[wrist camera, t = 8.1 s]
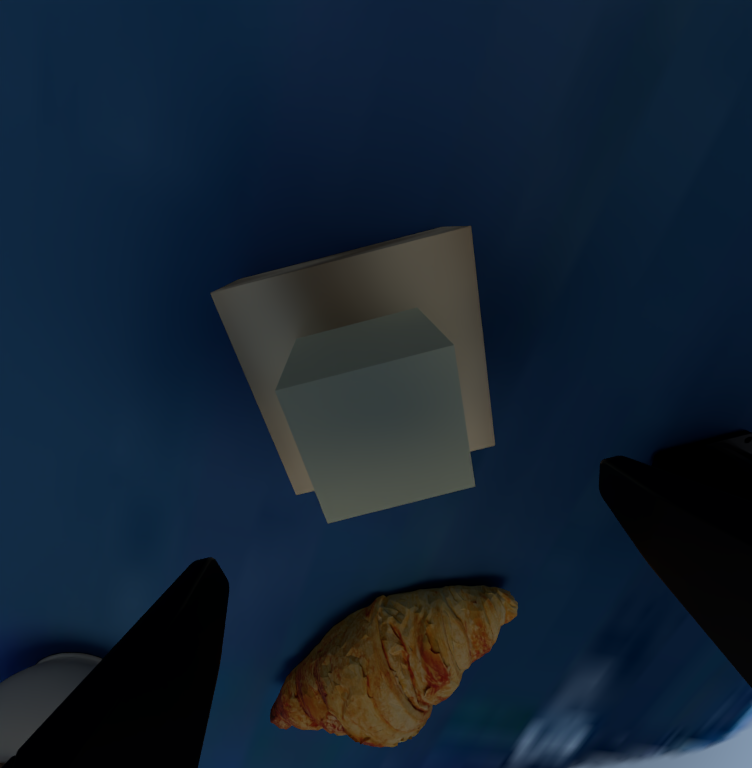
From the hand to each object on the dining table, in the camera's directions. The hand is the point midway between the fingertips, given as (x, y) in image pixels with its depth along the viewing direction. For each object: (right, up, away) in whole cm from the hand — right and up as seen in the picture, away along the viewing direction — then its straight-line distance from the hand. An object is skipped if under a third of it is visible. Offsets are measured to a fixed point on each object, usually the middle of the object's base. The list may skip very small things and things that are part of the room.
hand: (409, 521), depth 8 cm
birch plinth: (-1, +5, +11) cm, 12 cm away
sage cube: (-1, +3, +7) cm, 8 cm away
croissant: (0, -17, +21) cm, 27 cm away
